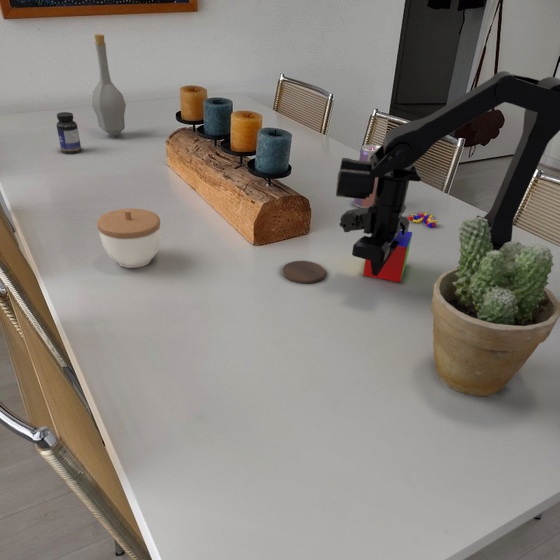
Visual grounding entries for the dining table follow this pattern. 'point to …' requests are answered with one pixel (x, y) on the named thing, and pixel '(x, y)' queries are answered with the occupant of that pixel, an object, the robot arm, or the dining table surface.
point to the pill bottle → (68, 133)
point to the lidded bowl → (130, 236)
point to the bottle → (107, 95)
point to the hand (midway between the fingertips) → (374, 275)
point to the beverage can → (365, 156)
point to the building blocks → (424, 219)
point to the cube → (393, 260)
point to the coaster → (303, 272)
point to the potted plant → (490, 311)
